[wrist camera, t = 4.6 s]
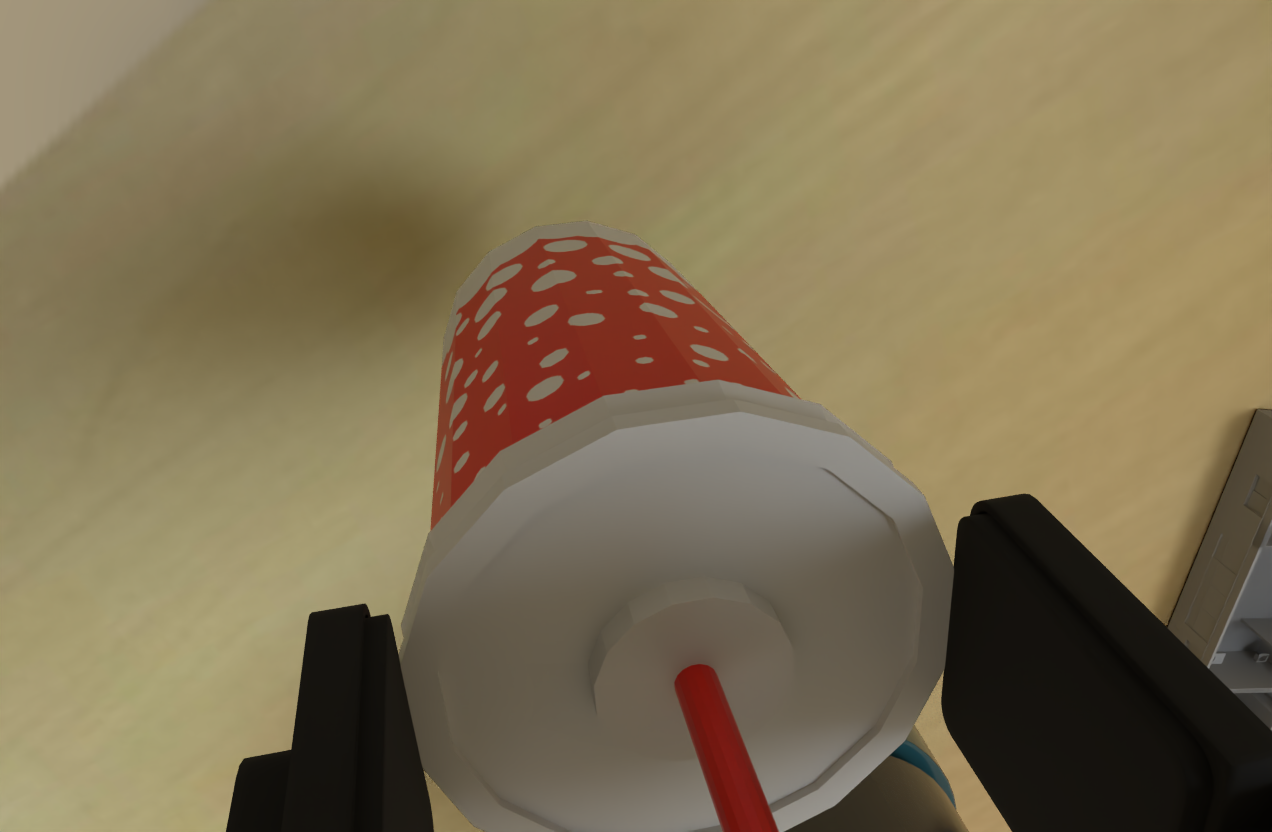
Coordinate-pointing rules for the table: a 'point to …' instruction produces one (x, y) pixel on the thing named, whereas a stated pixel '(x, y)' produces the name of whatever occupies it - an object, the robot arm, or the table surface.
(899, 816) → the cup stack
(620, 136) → the table surface
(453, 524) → the beverage cup
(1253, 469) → the building model
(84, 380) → the table surface
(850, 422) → the table surface
